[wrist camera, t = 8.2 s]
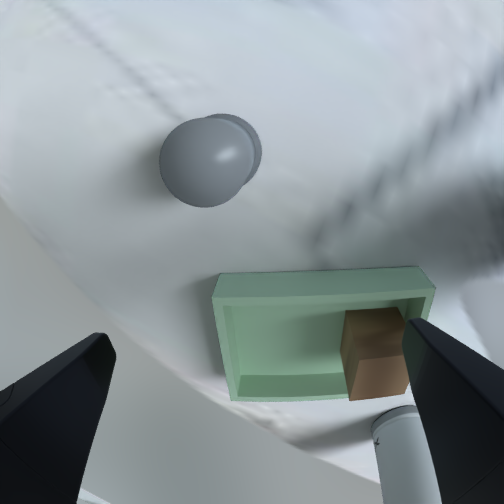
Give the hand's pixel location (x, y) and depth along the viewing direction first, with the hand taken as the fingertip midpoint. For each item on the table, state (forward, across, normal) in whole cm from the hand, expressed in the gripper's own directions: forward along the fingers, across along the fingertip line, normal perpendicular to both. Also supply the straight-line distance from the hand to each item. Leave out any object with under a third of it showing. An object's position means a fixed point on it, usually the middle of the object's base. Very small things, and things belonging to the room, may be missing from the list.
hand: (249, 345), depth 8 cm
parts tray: (+11, -4, +9) cm, 15 cm away
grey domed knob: (+12, +2, -4) cm, 12 cm away
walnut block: (+11, -7, +9) cm, 16 cm away
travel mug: (+11, -13, +24) cm, 30 cm away
